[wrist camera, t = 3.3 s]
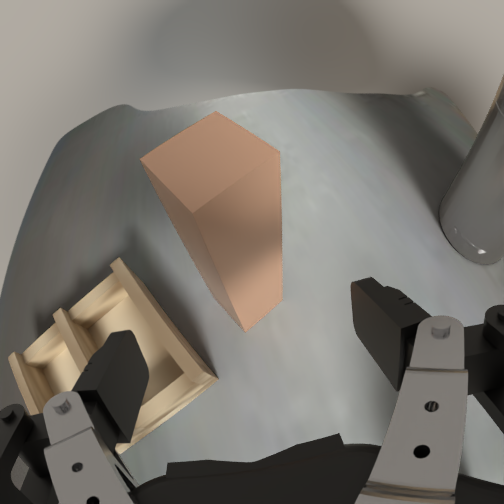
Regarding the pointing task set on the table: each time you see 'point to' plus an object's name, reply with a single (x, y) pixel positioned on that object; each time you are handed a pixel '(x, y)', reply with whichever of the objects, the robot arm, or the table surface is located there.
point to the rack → (93, 338)
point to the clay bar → (225, 211)
